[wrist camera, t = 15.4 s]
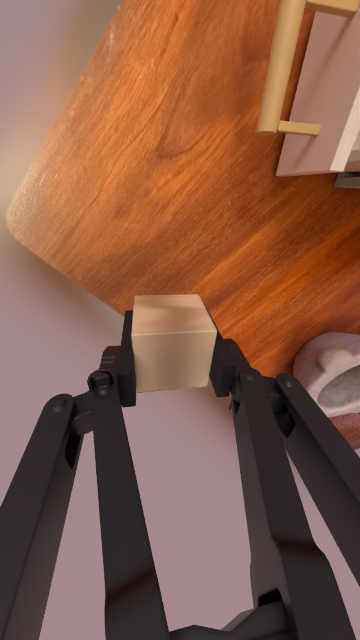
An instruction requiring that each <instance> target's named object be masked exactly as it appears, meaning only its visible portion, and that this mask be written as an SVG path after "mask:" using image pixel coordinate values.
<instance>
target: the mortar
mask: <svg viewBox="0 0 360 640" xmlns="http://www.w3.org/2000/svg"><path fill="white" fill-rule="evenodd" d="M293 376H294V377H295V378H296V379H297V380H298V381H299V382H300V383H301V384H302V385H303V387H304V388H305V389H306V391H307V392H308V393H309V394H310V396H311V397H312V398H313V399H314V401H315V402H316V403H317V404H318V406H319V407H320V408H321V409H322V411H323V412H324V413H325V415H326V416H327V417H333V416H338V415H343V414H347V413H351V412H354V413H359V412H360V335H356V334H350V333H342V332H328V333H323V334H321V335H318V336H316V337H314V338H313V339H311V340H310V341H308V342H307V343H306V344H305V345H304V346H303V347H302V348H301V349H300V350H299V352H298V353H297V355H296V357H295V359H294V364H293Z"/></svg>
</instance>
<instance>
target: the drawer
mask: <svg viewBox="0 0 360 640" xmlns="http://www.w3.org/2000/svg"><path fill="white" fill-rule="evenodd" d="M304 9H308V10H313V11H316V13H315V17H314V21H313V25H312V29H311V33H310V37H309V41H308V46H307V50H306V54H305V58H304V62H303V66H302V70H301V74H300V78H299V82H298V86H297V90H296V95H295V99H294V103H293V107H292V111H291V115H290V119H289V121H281V120H280V121H279V119H280V115H281V111H282V106H283V102H284V97H285V93H286V88H287V84H288V80H289V75H290V71H291V66H292V62H293V57H294V53H295V49H296V44H297V40H298V35H299V31H300V26H301V22H302V18H303V13H304ZM276 133H286V135H285V139H284V144H283V148H282V152H281V156H280V160H279V164H278V168H277V172H276V176H284V177H286V176H299V175H311V174H323V173H336V172H343V171H344V172H357V173H360V0H280V2H279V7H278V13H277V18H276V23H275V29H274V34H273V40H272V45H271V51H270V56H269V61H268V67H267V72H266V78H265V83H264V89H263V94H262V99H261V105H260V110H259V116H258V121H257V127H256V132H255V134H256V135H258V136H272V135H275V134H276Z"/></svg>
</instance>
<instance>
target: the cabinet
mask: <svg viewBox="0 0 360 640" xmlns="http://www.w3.org/2000/svg"><path fill="white" fill-rule="evenodd" d="M334 187H342V188H357V189H360V173H357V172H344V171H343V172H339V173H338V176H337V179H336V181H335V184H334Z"/></svg>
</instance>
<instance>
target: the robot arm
mask: <svg viewBox="0 0 360 640" xmlns="http://www.w3.org/2000/svg"><path fill="white" fill-rule="evenodd" d="M206 310H207V308H206ZM207 312H208V310H207ZM208 314H209V316H210V318H211V320H212V322H213V323H214V321H213V319H212V317H211V315H210V313H209V312H208ZM132 320H133V310H129V311H125V319H124V326H123V333H122V341H121V346H108V347H107V348H106V349H105V350H104V352H103V355H102V359H101V364H100V368H99V370H96V371H94V372H93V373H91V374H90V376H89V377H88V381H87V382H88V386H89V391H88V392H86V393H84V394H81V395H78V396H75V397H72V396H71V395H69V394H59V395H56V396H55V397H53V398H51V399H50V400H49V401H48V402H47V403H46V405H45V406H44V408H43V410H42V413H41V415H40V417H39V419H38V422H37V424H36V426H35V429H34V431H33V433H32V436H31V438H30V440H29V443H28V445H27V447H26V450H25V452H24V454H23V456H22V459H21V461H20V463H19V466H18V468H17V470H16V473H15V475H14V477H13V480H12V482H11V484H10V487H9V489H8V491H7V494H6V496H5V498H4V500H3V503H2V505H1V507H0V640H39V636H40V632H41V627H42V622H43V618H44V614H45V609H46V605H47V600H48V596H49V591H50V587H51V582H52V578H53V573H54V568H55V564H56V559H57V555H58V550H59V546H60V541H61V537H62V532H63V528H64V523H65V519H66V514H67V510H68V505H69V501H70V496H71V492H72V487H73V483H74V478H75V474H76V469H77V465H78V460H79V455H80V451H81V447H82V442H83V438H84V434H86V433H88V432H90V431H93V433H94V447H95V460H96V473H97V485H98V499H99V512H100V525H101V538H102V551H103V565H104V577H105V595H106V596H105V635H106V640H356V638H355V635H354V632H353V629H352V626H351V623H350V620H349V617H348V614H347V611H346V608H345V605H344V602H343V599H342V596H341V593H340V591H339V588H338V585H337V582H336V579H335V576H334V573H333V571H332V568H331V566H330V563H329V561H328V559H327V558H326V556H325V554H324V553H323V552H322V551H321V550H320V549H319V548H318V547H317V545H316V544H315V542H314V540H313V537H312V534H311V531H310V528H309V525H308V521H307V518H306V515H305V512H304V509H303V505H302V502H301V499H300V496H299V492H298V489H297V486H296V483H295V480H294V476H293V473H292V470H291V467H290V464H289V460H288V457H287V454H286V451H285V448H286V450H287V452H288V454H289V456H290V457H291V460H292V461H293V463H294V465H295V467H296V469H297V471H298V472H299V474H300V476H301V478H302V480H303V482H304V484H305V486H306V487H307V489H308V491H309V493H310V495H311V497H312V499H313V501H314V502H315V504H316V506H317V508H318V510H319V512H320V514H321V516H322V517H323V519H324V521H325V523H326V525H327V527H328V528H329V530H330V532H331V534H332V536H333V538H334V540H335V542H336V544H337V545H338V547H339V549H340V551H341V553H342V555H343V557H344V558H345V560H346V562H347V564H348V566H349V568H350V570H351V572H352V573H353V575H354V577H355V579H356V581H357V583H358V585H359V586H360V457H359V456H358V455H357V454H356V452H355V451H354V450H353V449H352V447H351V446H350V445H349V444H348V442H347V441H346V440H345V439H344V437H343V436H342V435H341V433H340V432H339V431H338V430H337V428H336V427H335V426H334V425H333V423H332V422H331V421H330V420H329V418H328V417H327V416H326V415H325V413H324V412H323V411H322V409H321V408H320V407H319V406H318V404H317V403H316V402H315V401H314V399H313V398H312V397H311V396H310V394H309V393H308V392H307V391H306V389H305V388H304V387H303V385H302V384H301V383H300V382H299V381H298V380H297V379H296V378H295V377H294V376H292V375H290V374H287V373H281V374H278V375H277V377H276V378H271V377H265V376H262V375H261V373H260V372H258V371H257V370H255V369H254V368H251V366H250V365H249V363H248V361H247V360H246V358H245V356H244V355H243V353H242V351H241V350H240V349H239V346H238V345H237V343H236V342H235V341H233V340H232V339H223V338H222V336H221V334H220V332H219V330H218V329H217V327H216V325H215V323H214V325H215V327H216V329H217V335H216V340H215V345H214V351H213V357H212V362H211V368H210V373H209V377H210V379H211V382H212V385H213V388H214V391H215V393H216V396H217V397H226V396H229V392H230V391H231V394H232V399H231V403H230V407H229V409H230V410H231V408H232V411H233V419H234V426H235V434H236V442H237V450H238V457H239V464H240V473H241V481H242V488H243V496H244V502H245V503H244V504H245V512H246V519H247V527H248V535H249V543H250V549H251V550H250V551H251V564H250V577H251V589H252V597H253V605H254V608H253V609H250V610H248V611H244V612H242V613H240V614H239V615H238V616H236V618H234V619H233V620H232V621H231V622H230V623H228V624H227V625H226V626H225V627H224V628H223V629H221V630H217V629H213V628H208V627H203V626H197V625H192V626H188V627H185V628H182V629H178V630H174V631H170V632H169V630H168V625H167V621H166V616H165V611H164V606H163V602H162V597H161V592H160V587H159V583H158V578H157V574H156V570H155V565H154V561H153V556H152V552H151V547H150V542H149V537H148V532H147V528H146V523H145V518H144V513H143V508H142V504H141V499H140V494H139V490H138V485H137V480H136V475H135V470H134V465H133V461H132V456H131V451H130V447H129V442H128V437H127V432H126V427H125V423H124V418H123V413H122V408H121V406H122V407H131V406H136V373H135V363H134V352H133V347H132V337H131V333H132ZM284 446H285V448H284Z"/></svg>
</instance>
